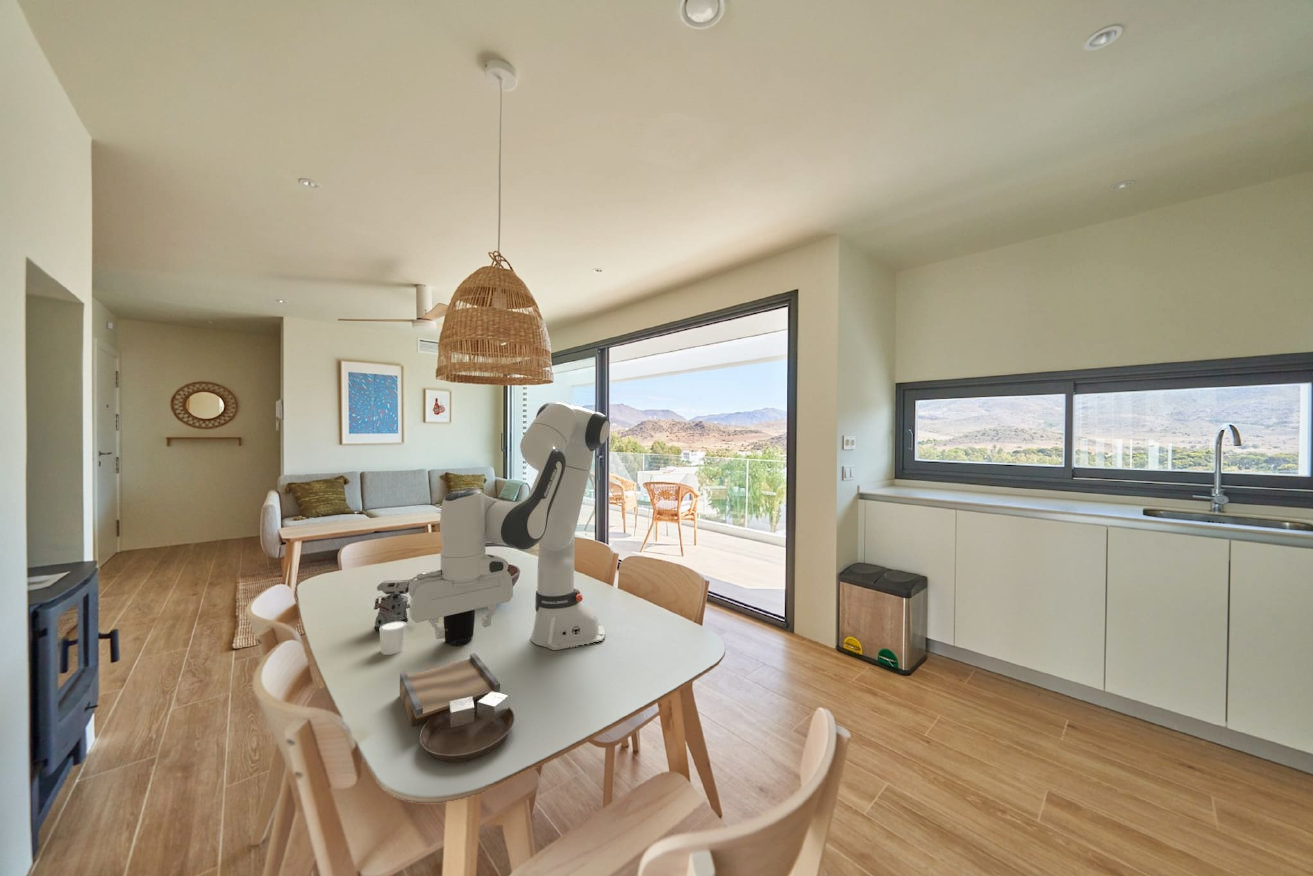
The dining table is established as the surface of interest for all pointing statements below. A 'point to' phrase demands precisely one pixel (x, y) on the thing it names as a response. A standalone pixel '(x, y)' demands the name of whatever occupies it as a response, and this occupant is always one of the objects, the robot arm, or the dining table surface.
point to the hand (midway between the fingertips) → (464, 631)
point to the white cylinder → (392, 637)
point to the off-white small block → (461, 711)
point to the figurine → (392, 602)
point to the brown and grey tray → (445, 687)
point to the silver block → (492, 706)
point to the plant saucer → (464, 736)
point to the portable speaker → (459, 627)
